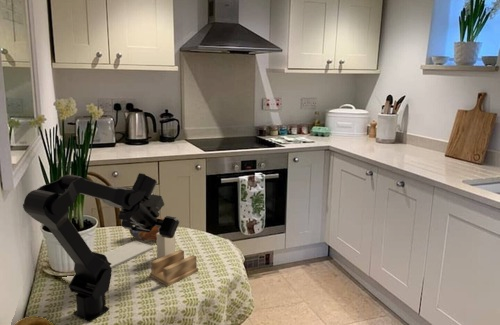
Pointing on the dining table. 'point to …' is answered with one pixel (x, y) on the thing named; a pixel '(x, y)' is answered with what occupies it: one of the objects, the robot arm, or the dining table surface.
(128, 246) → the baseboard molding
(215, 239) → the dining table surface
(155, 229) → the tin
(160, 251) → the off-white rectangular block
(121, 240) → the dining table surface
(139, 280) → the dining table surface
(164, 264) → the wooden slotted stand
